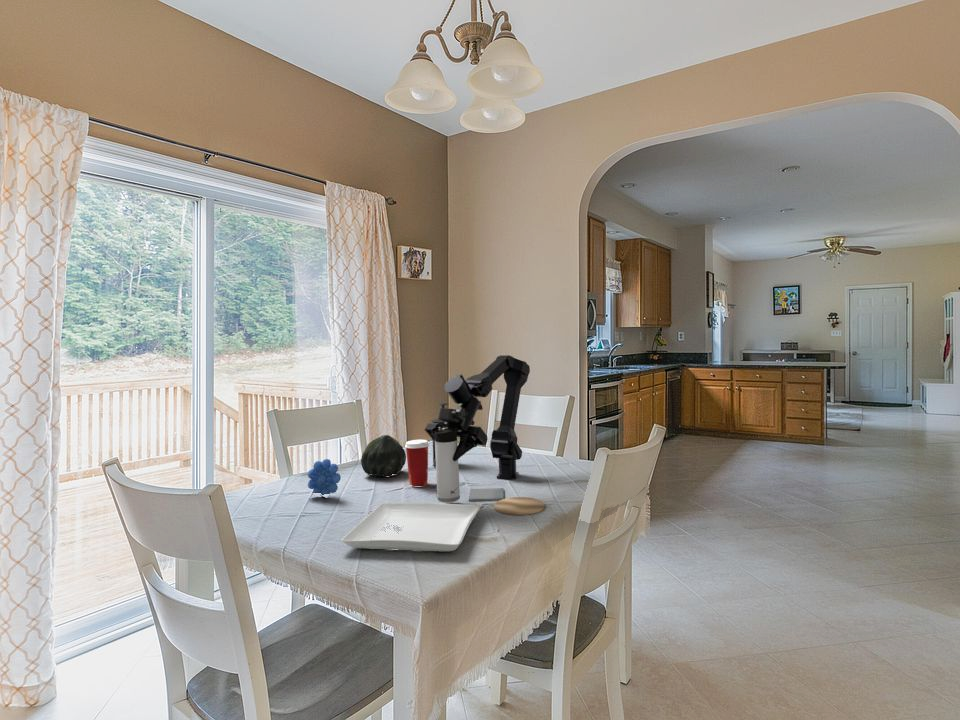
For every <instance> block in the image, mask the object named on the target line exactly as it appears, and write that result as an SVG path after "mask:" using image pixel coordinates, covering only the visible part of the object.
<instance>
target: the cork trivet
mask: <svg viewBox="0 0 960 720" xmlns="http://www.w3.org/2000/svg"><path fill="white" fill-rule="evenodd" d="M493 508H494V510H495V511H496V512H498V513H500V514H504V515H509V516H510V515H511V516H528V514H530V515H534V513H535V514H538V513H540V512H542V511H544V510H545V509H546V503H545V502H544V501H543V500H541V499H538V498H534V497H524V496H522V497H521V496H519V497H518V496H515V497H507V498H504V499H503V500H497V501H496V502H495V503H494V504H493Z"/></svg>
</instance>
